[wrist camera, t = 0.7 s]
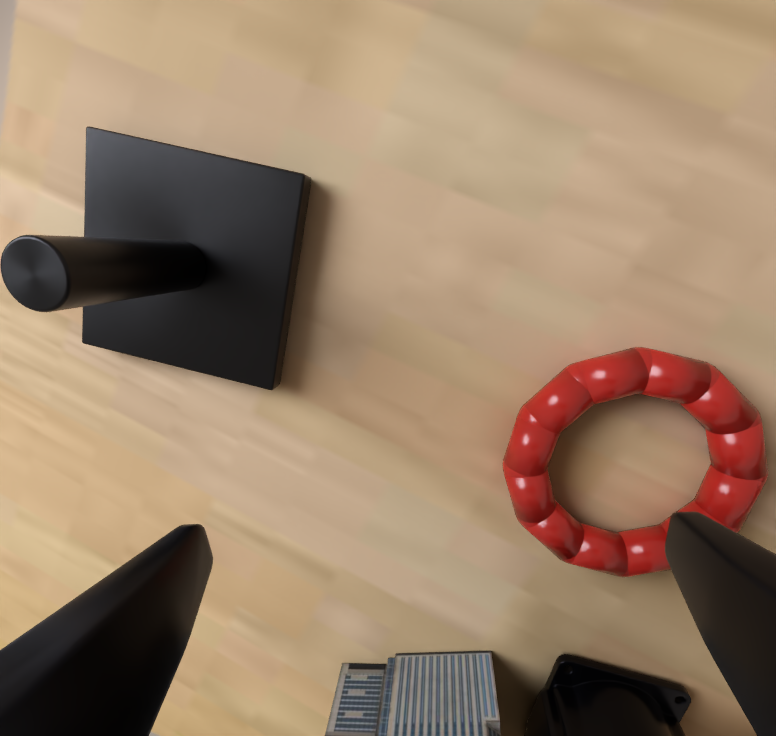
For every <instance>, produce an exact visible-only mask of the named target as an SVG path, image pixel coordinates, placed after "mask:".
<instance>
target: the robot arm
mask: <svg viewBox="0 0 776 736" xmlns="http://www.w3.org/2000/svg"><path fill="white" fill-rule="evenodd" d="M665 555H666V559H667V561H668V563H669V566H670V568H671V570H672V572H673V574H674V577H675V579H676V581H677V583H678V585H679V588H680V590H681V592H682V594H683V597H684V599H685V601H686V603H687V605H688V608H689V610H690V612H691V614H692V616H693V619H694V621H695V623H696V625H697V627H698V630H699V632H700V634H701V636H702V638H703V640H704V642H705V644H706V646H707V648H708V650H709V651H710V653H711V655H712V657H713V659H714V661H715V662H716V664H717V666H718V668H719V669H720V671H721V673H722V675H723V676H724V678H725V680H726V682H727V683H728V685H729V687H730V689H731V690H732V692H733V694H734V696H735V697H736V699H737V701H738V703H739V704H740V706H741V708H742V710H743V711H744V713H745V715H746V717H747V718H748V720H749V722H750V724H751V725H752V727H753V729H754V731H755V732H756V734H757V736H776V554H774V553H772V552H770V551H769V550H767V549H765V548H763V547H761V546H760V545H758V544H756V543H754V542H752V541H750V540H749V539H747V538H745V537H743V536H741V535H740V534H738V533H736V532H734V531H732V530H731V529H729V528H727V527H725V526H723V525H722V524H720V523H718V522H716V521H714V520H712V519H711V518H709V517H707V516H705V515H703V514H701V513H699V512H694V511H692V512H675V513H673V514H672V516H671V518H670V522H669V527H668V531H667V536H666V541H665ZM212 564H213V556H212V552H211V548H210V545H209V541H208V538H207V535H206V531H205V529H204V527H203V526H202V525H199V524H187V525H181V526H179V527H177V528H176V529H174V530H173V531H171V532H170V533H168V534H167V535H166V536H164V537H163V538H161V539H160V540H158V541H157V542H156V543H154V544H153V545H151V546H150V547H148V548H147V549H145V550H144V551H143V552H141V553H140V554H138V555H137V556H135V557H134V558H132V559H131V560H130V561H128V562H127V563H125V564H124V565H122V566H121V567H120V568H118V569H117V570H115V571H114V572H112V573H111V574H109V575H108V576H107V577H105V578H104V579H102V580H101V581H99V582H98V583H96V584H95V585H94V586H92V587H91V588H89V589H88V590H86V591H85V592H83V593H82V594H81V595H79V596H78V597H76V598H75V599H73V600H72V601H71V602H69V603H68V604H66V605H65V606H63V607H62V608H60V609H59V610H58V611H56V612H55V613H53V614H52V615H50V616H49V617H47V618H46V619H45V620H43V621H42V622H40V623H39V624H37V625H36V626H34V627H33V628H32V629H30V630H29V631H27V632H26V633H24V634H23V635H22V636H20V637H19V638H17V639H16V640H14V641H13V642H11V643H10V644H9V645H7V646H6V647H4V648H3V649H1V650H0V736H149V734H150V731H151V729H152V727H153V724H154V722H155V720H156V717H157V715H158V713H159V710H160V708H161V705H162V703H163V701H164V698H165V696H166V694H167V691H168V689H169V687H170V684H171V682H172V680H173V677H174V675H175V673H176V670H177V668H178V666H179V663H180V661H181V658H182V656H183V654H184V651H185V649H186V646H187V643H188V640H189V637H190V635H191V632H192V628H193V625H194V622H195V619H196V616H197V613H198V610H199V606H200V603H201V600H202V597H203V594H204V591H205V588H206V584H207V581H208V578H209V575H210V572H211V569H212ZM567 665H569V666H567ZM690 703H691V697H690V695H689V694H688V692H687V690H686V688H685V687H684V686H681V685H679V684H675V683H671V682H668V681H664V680H660V679H657V678H653V677H649V676H646V675H642V674H638V673H635V672H631V671H627V670H624V669H620V668H616V667H613V666H609V665H605V664H602V663H598V662H594V661H591V660H587V659H583V658H580V657H576V656H572V655H568V654H564V655H561V656H559V657H558V658H557V659H556V662H555V664H554V666H553V669H552V671H551V673H550V676H549V678H548V681H547V683H546V685H545V688H543V689H542V690H541V691H540V693H539V695H538V697H537V700H536V702H535V705H534V707H533V709H532V712H531V714H530V716H529V719H528V721H527V724H526V728H527V730H526V732H525V735H524V736H685V734H684V732H683V730H682V728H681V726H680V724H679V723H680V721H681V719H682V717H683V716H684V714H685V712H686V710H687V708H688V707H689V705H690Z"/></svg>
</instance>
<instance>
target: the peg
mask: <svg viewBox="0 0 776 736" xmlns="http://www.w3.org/2000/svg"><path fill="white" fill-rule="evenodd" d="M310 186H311V178H310V177H308V176H307V175H305V174H302V173H298V172H293V171H289V170H284V169H279V168H275V167H270V166H266V165H261V164H257V163H252V162H248V161H243V160H239V159H234V158H230V157H225V156H221V155H216V154H212V153H207V152H202V151H198V150H193V149H189V148H184V147H180V146H175V145H171V144H166V143H162V142H157V141H153V140H148V139H144V138H139V137H134V136H130V135H125V134H121V133H116V132H112V131H107V130H103V129H98V128H94V127H87V128H86V171H85V224H84V237H71V236H44V235H23V236H20V237H17V238H16V239H14V240H12V241H11V242H10V243H9V244H8V245H7V246H6V247H5V249H4V251H3V253H2V257H1V273H2V277H3V280H4V283H5V285H6V287H7V289H8V290H9V292H10V293H11V295H12V296H13V297H14V298H15V299H16V300H17V301H18V302H19V303H21V304H22V305H24V306H25V307H27V308H29V309H32V310H35V311H39V312H52V311H58V310H64V309H71V308H77V307H83V329H82V342H83V343H84V344H88V345H92V346H96V347H100V348H104V349H108V350H112V351H116V352H120V353H124V354H128V355H132V356H136V357H140V358H144V359H148V360H153V361H157V362H161V363H165V364H169V365H173V366H177V367H181V368H185V369H189V370H193V371H197V372H201V373H205V374H209V375H213V376H217V377H221V378H225V379H229V380H233V381H237V382H241V383H245V384H249V385H253V386H257V387H261V388H265V389H269V390H273V389H274V388H275V387H277V386H278V385H279V384H280V380H281V373H282V367H283V360H284V354H285V347H286V341H287V335H288V328H289V322H290V315H291V309H292V302H293V296H294V289H295V283H296V276H297V270H298V264H299V257H300V251H301V244H302V238H303V231H304V225H305V218H306V212H307V205H308V199H309V193H310Z"/></svg>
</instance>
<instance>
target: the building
mask: <svg viewBox="0 0 776 736" xmlns="http://www.w3.org/2000/svg"><path fill="white" fill-rule="evenodd" d="M325 736H501V732H500V718H499V710H498V702H497V694H496V686H495V678H494V670H493V662H492V654H491V651H468V652H435V653H402V654H396V657H395V658H388V665H386V664H351V663H342V667H341V671H340V675H339V679H338V683H337V688H336V692H335V696H334V700H333V704H332V708H331V713H330V717H329V721H328V725H327V729H326V733H325Z"/></svg>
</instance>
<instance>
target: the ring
mask: <svg viewBox="0 0 776 736" xmlns="http://www.w3.org/2000/svg"><path fill="white" fill-rule="evenodd" d="M636 394H643V395H647V396H651V397H656V398H660V399H664V400H668V401H672V402H677V403H680V404H681V405H682V406H683V407H684V408H685V409H686V410H687V411H688V412H689V413H690V414H691V415H692V416H693V417H694V418H695V419H696V420H697V421H698V422H699V423H700V424H701V425H702V426H703V427H704V428H705V430H706V436H707V442H708V448H709V454H710V460H711V465H710V467H709V469H708V471H707V473H706V475H705V477H704V479H703V481H702V484H701V486H700V488H699V490H698V492H697V494H696V496H695V498H694V500H692V501H691V502H690V503H688V504H687V505H685V506H684V507H683V508H681V509H680V510H678V511H677V512H692V511H694V512H699V513H701V514H703V515H705V516H707V517H709V518H711V519H712V520H714V521H716V522H718V523H720V524H722V525H723V526H725V527H727V528H729V529H731V530H732V531H734V532H736V533H738V532H739V531H740V530H741V528H742V526H743V524H744V523H745V521H746V519H747V517H748V515H749V513H750V511H751V509H752V507H753V505H754V503H755V502H756V500H757V498H758V496H759V494H760V492H761V490H762V488H763V486H764V484H765V482H766V481H767V478H768V464H767V456H766V449H765V441H764V434H763V426H762V419H761V416H760V413H759V412H758V410H757V409H756V408H755V407H754V406H753V404H752V403H751V402H750V401H749V400H748V399H747V398H746V397H745V396H744V395H743V394H742V393H741V392H740V391H739V390H738V389H737V388H736V387H735V386H734V385H733V384H732V383H731V382H730V381H729V380H728V379H727V378H726V377H725V376H724V375H723V374H722V373H721V372H720V371H719V370H718V369H717V368H716V367H714V366H713V365H711V364H709V363H707V362H704V361H700V360H696V359H692V358H687V357H683V356H679V355H674V354H670V353H666V352H662V351H657V350H653V349H649V348H644V347H635V348H630V349H626V350H623V351H619V352H615V353H611V354H607V355H603V356H599V357H596V358H592V359H588V360H584V361H580V362H576V363H573V364H570V365H568V366H567V367H566V368H564V369H563V370H562V371H561V372H560V373H559V374H558V375H557V376H555V377H554V378H553V379H552V380H551V381H550V382H549V383H548V384H546V385H545V386H544V387H543V388H542V389H541V390H540V391H539V392H538V393H536V394H535V395H534V396H533V397H532V398H531V399H530V400H529V401H527V402H526V403H525V404H524V405H523V406H522V407H521V409H520V411H519V413H518V416H517V419H516V422H515V425H514V428H513V431H512V435H511V438H510V441H509V444H508V447H507V450H506V453H505V456H504V459H503V471H504V475H505V479H506V482H507V486H508V489H509V493H510V497H511V500H512V504H513V507H514V511H515V514H516V517H517V519H518V521H519V522H520V523H521V525H522V526H523V527H525V528H526V529H527V530H528V531H529V532H530V533H531V534H532V535H533V536H535V537H536V538H537V539H538V540H539V541H540V542H541V543H542V544H543V545H544V546H546V547H547V548H548V549H549V550H550V551H551V552H552V553H553V554H554V555H555V556H557V557H558V558H559V559H560V560H562V561H564V562H566V563H570V564H573V565H577V566H581V567H585V568H589V569H592V570H596V571H600V572H604V573H608V574H612V575H615V576H620V577H629V576H635V575H641V574H647V573H653V572H659V571H665V570H671V568H670V566H669V563H668V561H667V559H666V555H665V541H666V536H667V531H668V527H669V522H670V518H671V516H670V517H669V518H667V519H666V520H665V521H663V522H662V523H660V524H659V525H654V526H648V527H643V528H637V529H632V530H627V531H621V532H613V531H610V530H606V529H602V528H598V527H594V526H590V525H586V524H582V523H579V522H578V521H577V520H576V519H575V518H574V517H573V516H572V515H571V514H569V513H568V512H567V511H566V510H565V509H564V508H563V507H562V506H561V505H560V504H559V503H558V502H556V501H555V497H554V493H553V489H552V486H551V482H550V478H549V474H548V470H547V468H548V466H549V463H550V460H551V457H552V455H553V452H554V449H555V446H556V443H557V441H558V438H559V435H560V433H561V432H562V431H563V430H565V429H566V428H567V427H568V426H569V425H571V424H572V423H573V422H574V421H575V420H576V419H578V418H579V417H580V416H581V415H582V414H584V413H585V412H586V411H587V410H588V409H589V408H591V407H592V406H593V405H594V404H599V403H603V402H607V401H611V400H615V399H619V398H624V397H628V396H632V395H636Z"/></svg>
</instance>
